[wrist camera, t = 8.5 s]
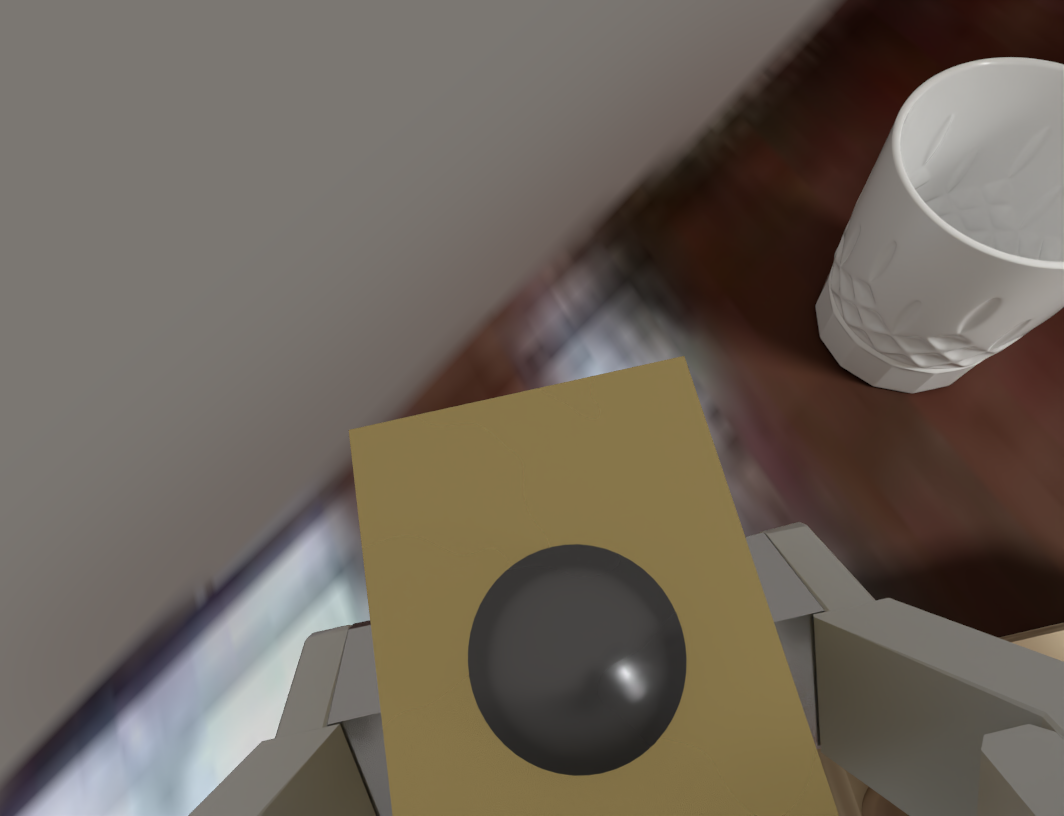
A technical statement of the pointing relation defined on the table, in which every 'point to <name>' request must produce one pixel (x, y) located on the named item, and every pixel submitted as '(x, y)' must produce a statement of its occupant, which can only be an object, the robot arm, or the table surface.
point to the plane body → (871, 812)
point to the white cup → (953, 229)
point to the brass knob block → (574, 612)
